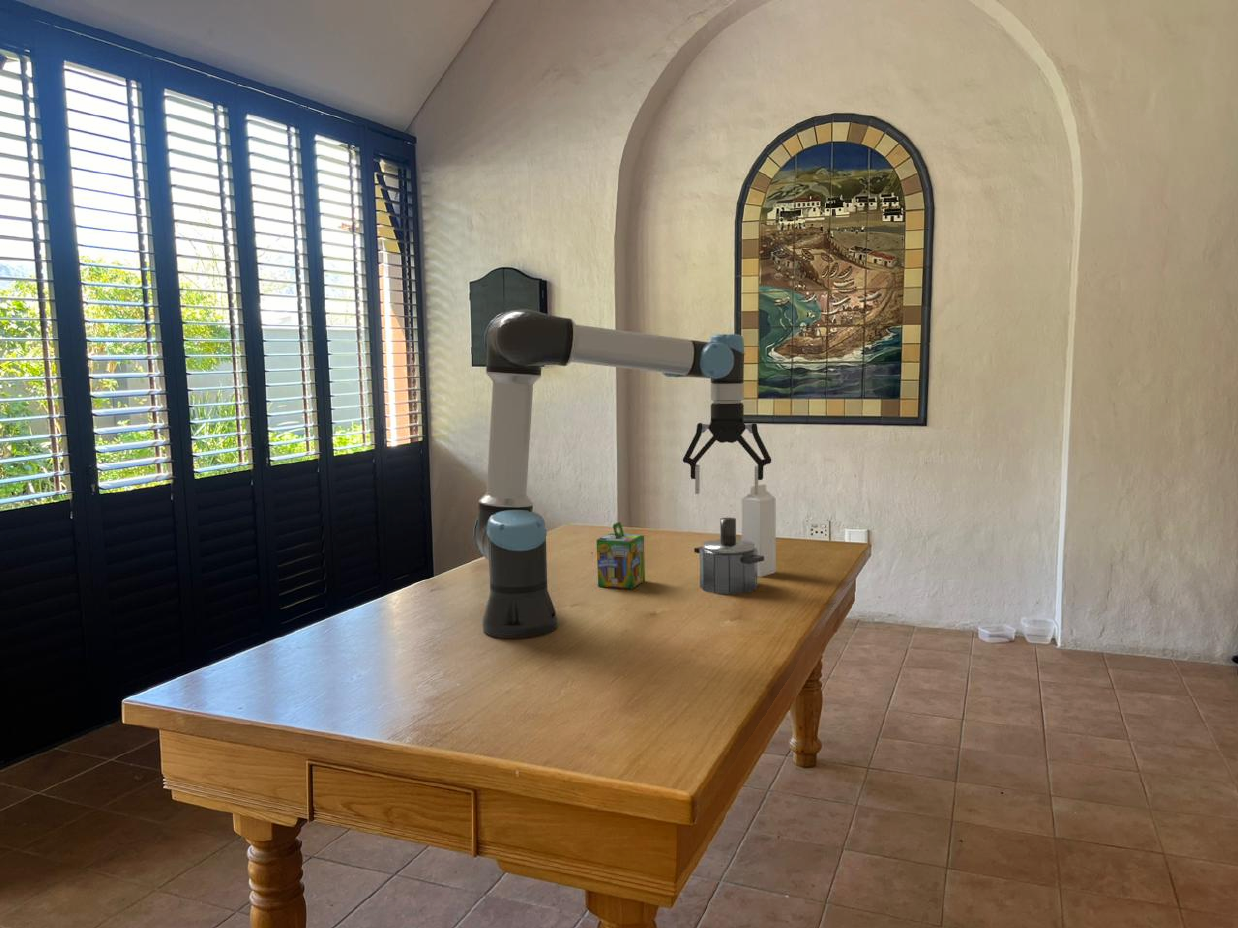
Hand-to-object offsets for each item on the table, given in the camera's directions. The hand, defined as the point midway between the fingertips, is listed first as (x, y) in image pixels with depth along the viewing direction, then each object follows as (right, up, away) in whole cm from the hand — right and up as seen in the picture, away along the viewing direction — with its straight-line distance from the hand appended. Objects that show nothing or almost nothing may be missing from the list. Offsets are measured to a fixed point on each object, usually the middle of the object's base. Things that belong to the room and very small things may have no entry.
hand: (726, 493), depth 218 cm
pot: (+1, -22, +3) cm, 22 cm away
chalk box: (-24, -22, +8) cm, 34 cm away
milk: (+10, -20, +15) cm, 27 cm away
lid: (+1, -14, +2) cm, 14 cm away
